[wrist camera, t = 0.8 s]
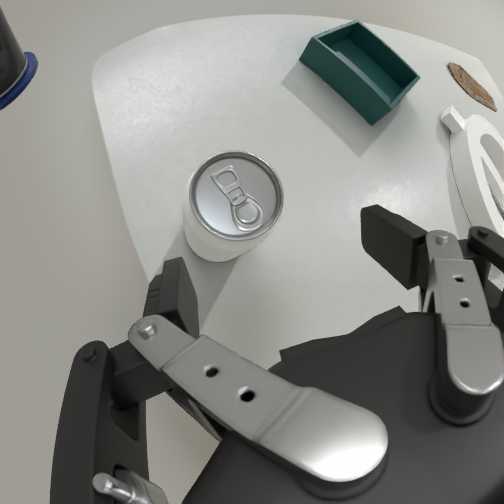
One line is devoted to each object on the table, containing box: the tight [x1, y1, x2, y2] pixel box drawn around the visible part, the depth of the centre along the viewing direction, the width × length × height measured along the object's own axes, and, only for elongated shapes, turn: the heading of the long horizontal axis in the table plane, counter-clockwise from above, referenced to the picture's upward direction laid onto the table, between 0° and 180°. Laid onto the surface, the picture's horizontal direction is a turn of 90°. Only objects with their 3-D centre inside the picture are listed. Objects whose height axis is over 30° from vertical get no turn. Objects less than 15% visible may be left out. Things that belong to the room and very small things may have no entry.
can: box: [183, 151, 284, 262], centre depth 22 cm, size 6×6×12 cm
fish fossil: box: [449, 62, 497, 111], centre depth 46 cm, size 26×10×1 cm, turn 97°
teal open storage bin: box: [299, 20, 420, 126], centre depth 32 cm, size 14×14×5 cm
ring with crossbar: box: [441, 105, 504, 238], centre depth 38 cm, size 28×28×5 cm
